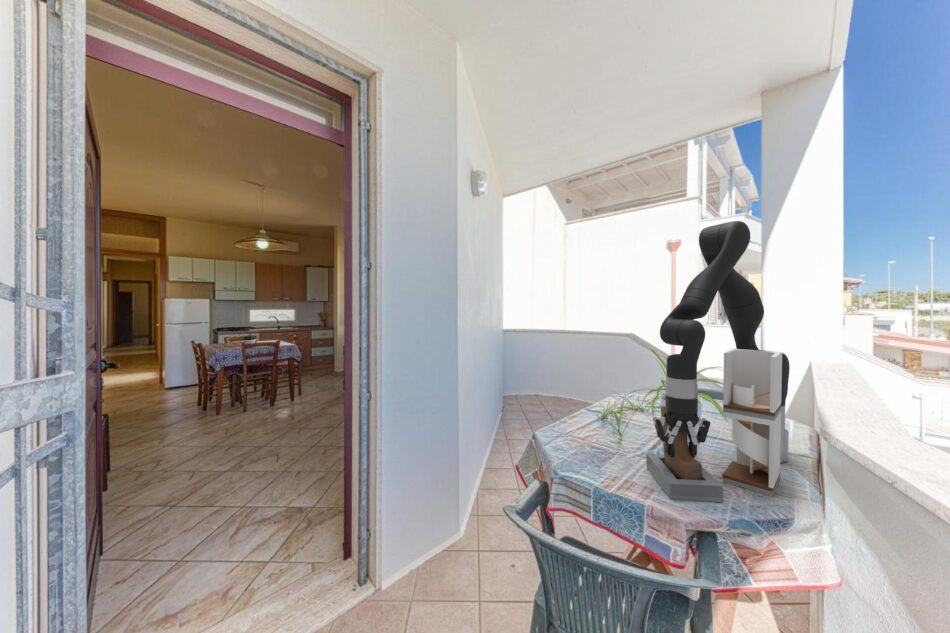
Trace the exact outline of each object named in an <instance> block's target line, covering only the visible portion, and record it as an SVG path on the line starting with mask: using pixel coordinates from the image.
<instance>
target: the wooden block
mask: <svg viewBox="0 0 950 633" xmlns="http://www.w3.org/2000/svg"><path fill="white" fill-rule="evenodd" d="M665 412H666V411H665V405H661V406H660V416H661V417H664V414H665ZM662 428H663V431H664V435H666V433H667V428H668V424H667V423H666V421H665V422H664V425H663V426H662ZM670 429H671V428H670ZM671 431H672V429H671ZM688 442H689V441H688V435H687V433H685V432H678V433H677V435H676V437H675V438H674V440H673V444H674V456H673V457H669V456H668V454H667V453H666V451H665V442H663V441H662V443H663V444H662V445H663V454H664V459H665V466H666V467H667V468H668V469H669V470H670V472H671V473H672V474H673V475H674V476H676V477H679V478H681V479H686V480H703V475H702V467H703V466H702V465H703V464H702V462H700V461H698V460H697V459H695V458H693V457H692V456H691V454H690V451H689V447H688Z"/></svg>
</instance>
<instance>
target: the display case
mask: <svg viewBox="0 0 950 633" xmlns="http://www.w3.org/2000/svg"><path fill="white" fill-rule="evenodd" d="M759 350H760V349H759ZM759 350H745V349H737V348H733V349H730V350H728V351H726V352H723V394H722V395H723V397H722V398H723V399H722V400H723V401H722V402H723V404H722V406H723V407H722V408H723V409H722V417H723V418H727V419H731V439H732V442H733V444H734V445H735V447H736V460H731V462H730V463H729V465H728V466H727V468H726V469H725V470H724V471H723V473H721V474H722V476H721V478H722V479H721V481H722V482H723V483H725V484H730V485H733V486H736V485H737V486H736V487H739V486H741V487H740V488H742V487H744V488H743V489H746V488H747V489H746V490H749V489H750V491H753V492H756V493H759V494H763V495H767V496H770V497H772V498H773V497H774V495H775V492H776V491H777V488H778V486H779V483H780V481H781V463H780V442H781V389H782V353H783V352H782V351H775V350H774V351H775V352H774V351H773V350H766V351H759Z"/></svg>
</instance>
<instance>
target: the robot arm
mask: <svg viewBox="0 0 950 633" xmlns="http://www.w3.org/2000/svg"><path fill="white" fill-rule="evenodd" d="M750 241H751V231H750V228H749V226H748V225H747V224H746V223H745V222H744V221H741V220H734V221H733V220H732V221H728V222H723V223H717V224H714V225H710V226H707V227H704V228H702V229H701V231H700V232H699V234H698V246H699V249H700V251H701V254H702V257H703V259H704V261H705V263H706V265H707V266H706V267H705V268H704V269H703V270H702V271H700V272H699V273H698V274H697V275H696V276H695V277H694V278H693V279H692V280H691V281H690V283H689V284H688V285H687V287H686V288H685V292H684V293H683V295H682V297H681V300H680V302H679V303H678V304H677V305H676V306H675V307H674V308H673V309H672V311H671V312H670V313H668V315H667V316H666V317H665V318H664V320H663V321H662V323H661V326H660V328H659V336H660V339H661V341H662V342H663V343H664V344H667V345H671V346H678V347H679V346H680V347H682V349H681V351H680V353H675V354H673V353H672V354H669V355H668V357H667V358H666V380H665V391H664V392H665V403H664V404H665V405H664V406H665V411H666V412H665V414H664V417H657V416H655V417H653V418H652V421H653V424H654V429H655V431H656V434H657V437H658V439H659V440H661V442H662V443H663V442H665V451H666V453H667V454H668V456H669V457H673V456H674V444H673V440H674V438H675V437H676V435H677V433H678V432H685V433H687V439H688V440H689V441H688V447H689V451H690V454H691V456H692V457H693V458H694V459H695V458H696V457H697V455H698V444H700V443H702V444H703V443H706V440H707V438H708V437H707V436H708V433H709V430H710V427H711V421H709V420H708V419H706V418H701V417H699V415H698V411H699V410H698V409H699V405H698V404H699V386H698V378H697V377H698V361H699V358H700V354H701V351H702V348H703V346H704V343H705V339H706V330H705V327H704V325H703V324H702V323H701V322H700V321H699V320H697V319H702V318H704V317H706V316H707V314H708V312H709V311H710V309H711V306H712V304H713V302H714V300H715V298H716V296H717V293H718V294H719V296H720V300H721V304H722V306H723V310H724V313H725V315H726V318H727V320H728V323H729V326H730V330H731V332H732V335H733V338H734V343H735V347H736V348H735V349H745V350H759V351H767V350H763V349H759V348H758V345H757V343H756V336H755V335H756V333H757V330H758V328H759V326H760V324H761V323H762V321H763V319H764V316H765V308H764V305H763V301H762V298H761V295H760V292H759V290H758V289H757V288H756V286H754V285H753V284H752V283H751V282H750V281H749V280H748V279H746V278H745V277H744V276H743V275H742V274H741V273H739V272H738V271H737V270H735V266H736V264H738V262H739V260H740V259H741V258H742V256H743V255H744V254H745V252H746V250H747V249H748V247H749V244H750ZM774 352H776V351H775V350H774ZM790 368H791V367H790V360H789V357H788V356H787V354H785V353H784V352H782V389H781V442H780V464H782V463H787V462H789V430H788V429H787V428H786V400H787V397H788V392H789V391H788V390H789V378H790ZM665 421H666V423H667V424H668V428H667V433H666V435H664V431H663V428H662V426H663V425H664V422H665ZM697 424H698V430H697V432H695V429H694V428H695V426H697ZM670 428H671V429H672V431H671V429H670Z"/></svg>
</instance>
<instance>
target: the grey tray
mask: <svg viewBox="0 0 950 633" xmlns="http://www.w3.org/2000/svg"><path fill="white" fill-rule="evenodd" d="M646 468H647V469H648V471H649V472H650V474H651V475H652V477H653V478H654V479H655V480H656V483H658V484H659V487H661V489H662V491H664V493H665V494H666V496H667V497H668V499H669V500H675V501H676V500H679V501H693V502H694V501H695V502H710V503H711V502H713V503H723V502H724V486H723V484H721V483H720V482H719V481H718V480H717V479H716V478H715V477H714V476H713V475H711V473H709V471H707V469H705V468H704V467H703V466H702V475H703V480H686V479H681V478H679V477H676V476H674V475H673V474H672V473H671V472H670V470H669V469H668V468H667V467H666V466H665V459H664V453H646Z"/></svg>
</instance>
